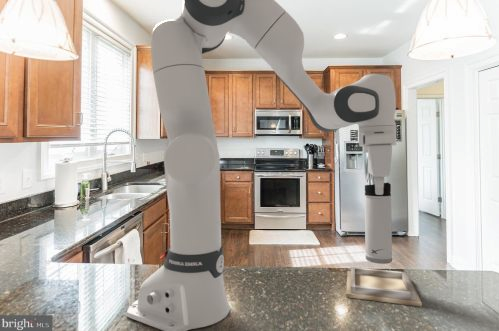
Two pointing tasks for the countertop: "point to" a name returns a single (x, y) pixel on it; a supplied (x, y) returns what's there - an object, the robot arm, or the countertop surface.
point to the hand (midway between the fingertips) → (377, 193)
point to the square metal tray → (381, 286)
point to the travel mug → (378, 225)
